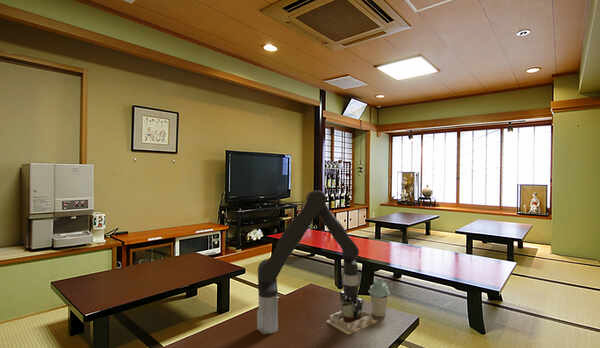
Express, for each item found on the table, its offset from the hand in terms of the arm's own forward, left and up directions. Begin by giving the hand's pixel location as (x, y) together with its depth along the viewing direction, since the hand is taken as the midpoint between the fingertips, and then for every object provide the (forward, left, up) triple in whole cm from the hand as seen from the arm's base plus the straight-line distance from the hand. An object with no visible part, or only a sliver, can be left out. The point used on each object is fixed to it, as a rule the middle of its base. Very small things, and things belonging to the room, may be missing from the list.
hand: (351, 315), depth 159 cm
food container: (0, +1, -2) cm, 3 cm away
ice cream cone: (+18, -3, -4) cm, 19 cm away
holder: (0, 0, -3) cm, 3 cm away
